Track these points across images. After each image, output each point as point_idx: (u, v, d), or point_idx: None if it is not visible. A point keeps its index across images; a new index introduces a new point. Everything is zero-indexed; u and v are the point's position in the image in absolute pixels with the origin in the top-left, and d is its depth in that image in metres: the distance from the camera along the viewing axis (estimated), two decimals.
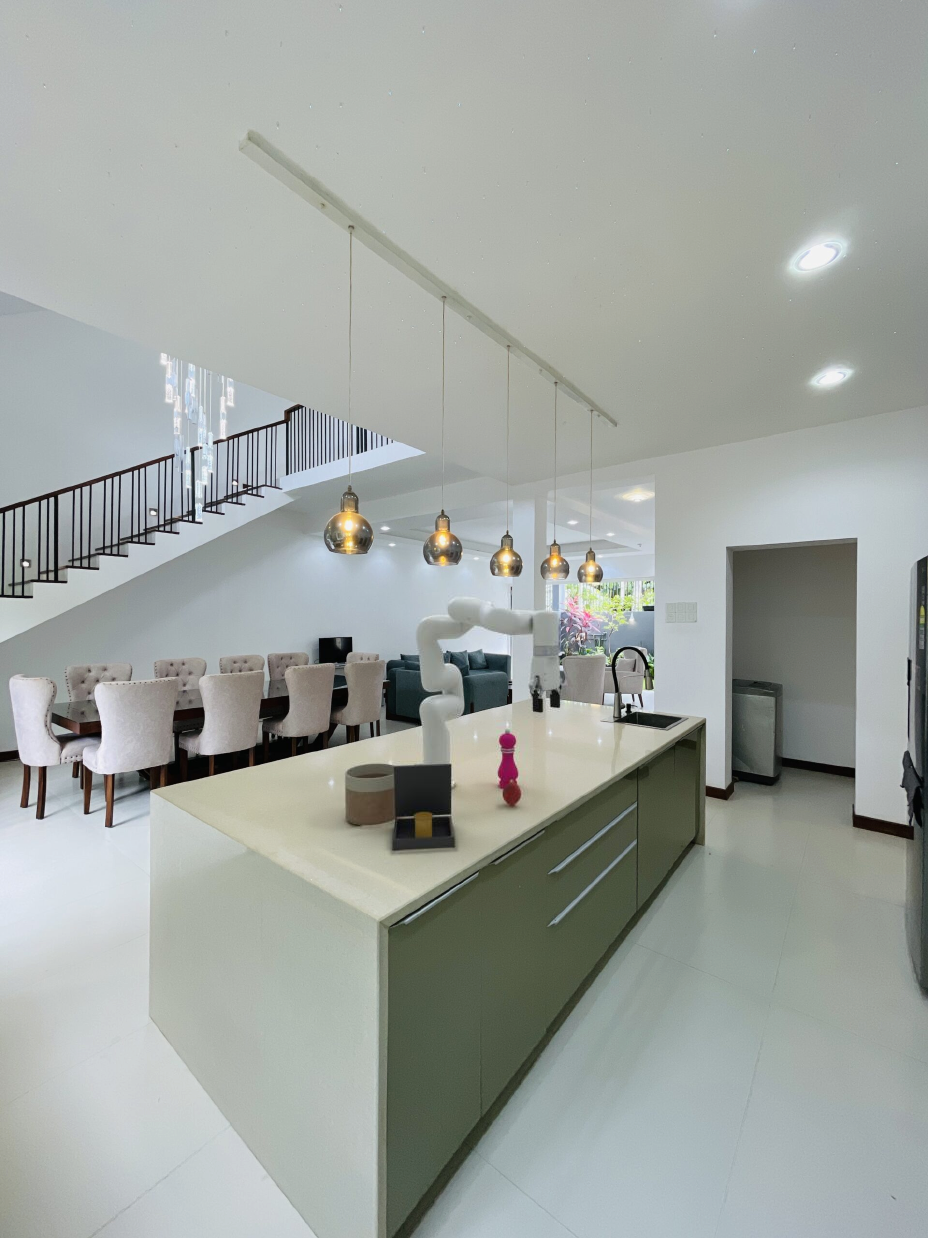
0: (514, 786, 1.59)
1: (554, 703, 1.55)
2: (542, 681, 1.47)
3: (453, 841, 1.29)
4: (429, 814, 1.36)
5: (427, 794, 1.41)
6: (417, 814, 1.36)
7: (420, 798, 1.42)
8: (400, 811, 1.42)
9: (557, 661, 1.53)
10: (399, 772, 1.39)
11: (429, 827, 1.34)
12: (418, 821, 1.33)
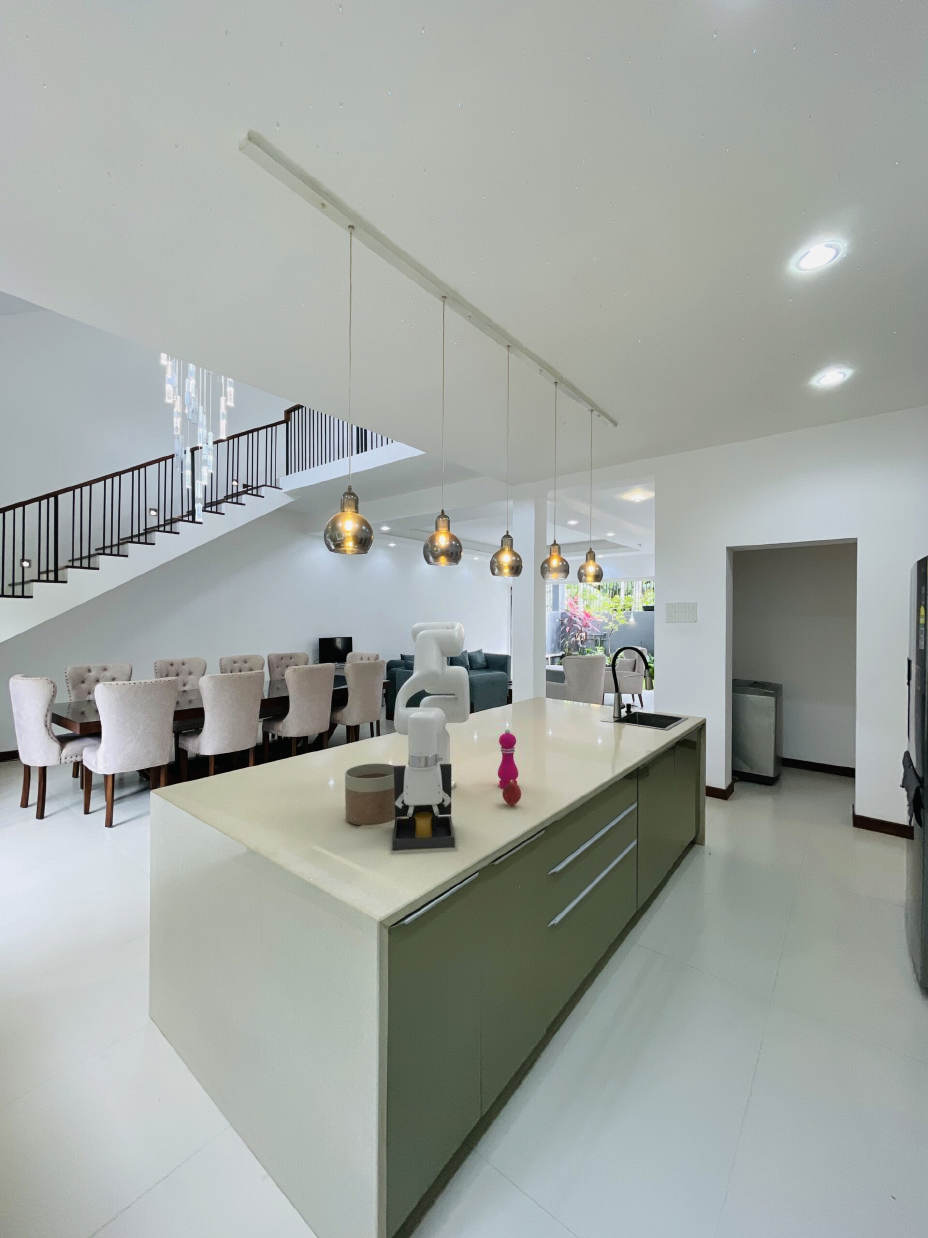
0: (514, 786, 1.59)
1: None
2: (404, 794, 1.33)
3: (453, 841, 1.29)
4: (429, 814, 1.36)
5: None
6: (417, 814, 1.36)
7: None
8: (400, 811, 1.42)
9: (433, 773, 1.33)
10: (399, 772, 1.39)
11: (429, 827, 1.34)
12: (418, 821, 1.33)
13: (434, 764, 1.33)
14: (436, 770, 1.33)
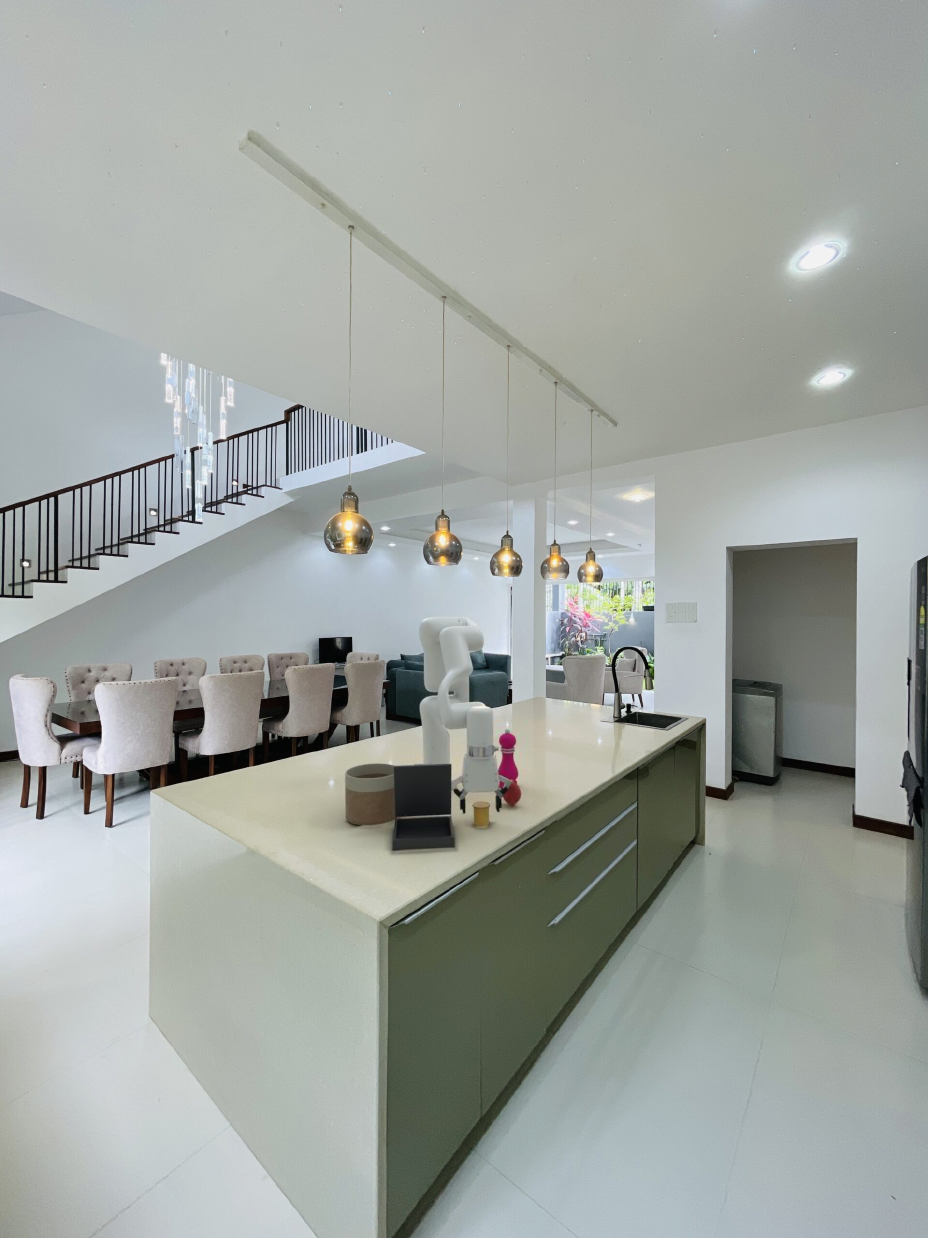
0: (514, 786, 1.59)
1: (496, 806, 1.46)
2: (463, 782, 1.43)
3: (453, 841, 1.29)
4: (486, 803, 1.45)
5: (427, 794, 1.41)
6: (475, 803, 1.46)
7: (420, 798, 1.42)
8: (400, 811, 1.42)
9: (490, 763, 1.43)
10: (399, 772, 1.39)
11: (487, 815, 1.43)
12: (477, 810, 1.43)
13: (491, 754, 1.43)
14: (493, 760, 1.44)
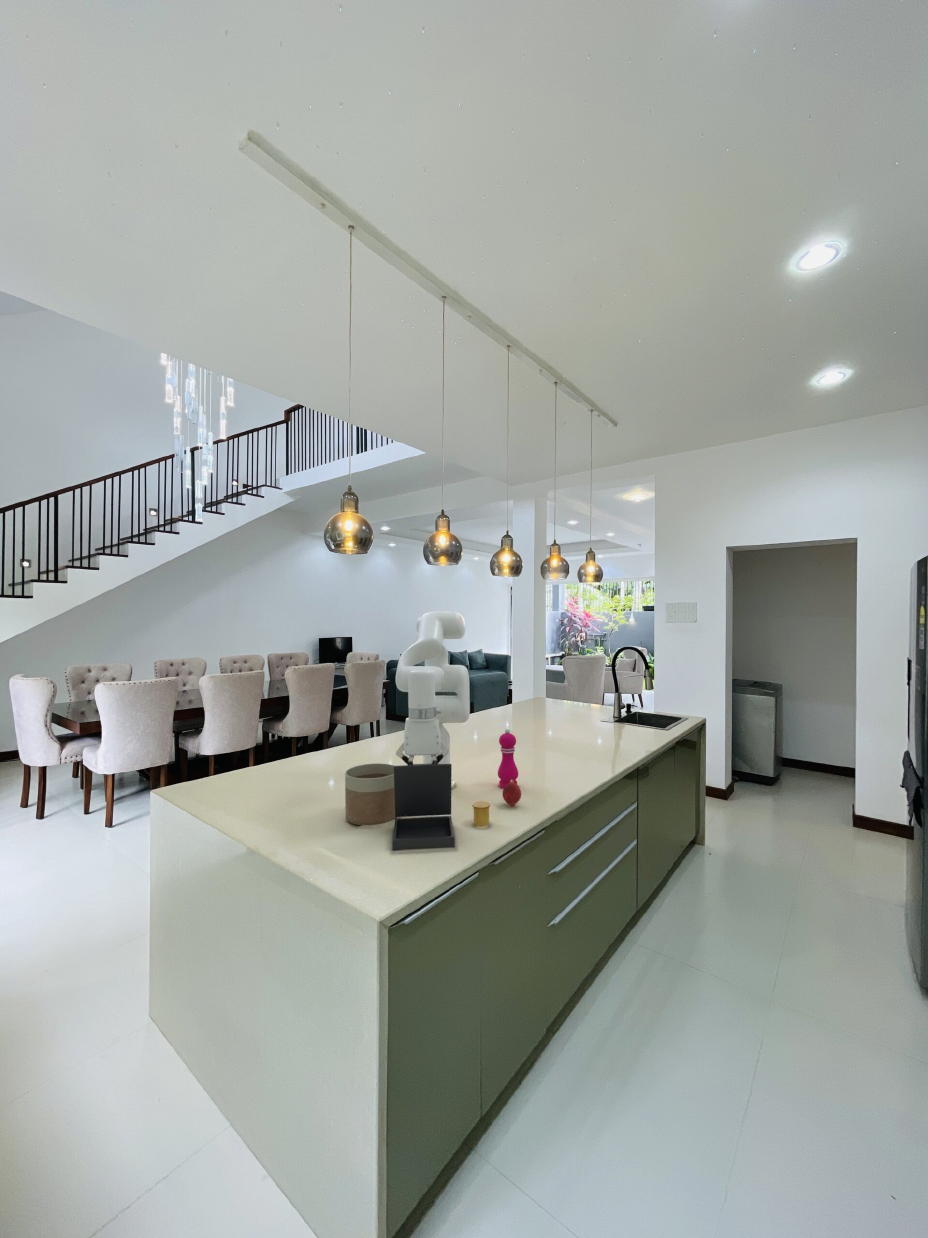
0: (514, 786, 1.59)
1: None
2: (404, 745, 1.41)
3: (453, 841, 1.29)
4: (486, 803, 1.45)
5: (427, 794, 1.41)
6: (475, 803, 1.46)
7: (420, 798, 1.42)
8: (400, 811, 1.42)
9: (432, 725, 1.41)
10: (399, 772, 1.39)
11: (487, 815, 1.43)
12: (477, 810, 1.43)
13: (433, 716, 1.41)
14: (435, 722, 1.41)
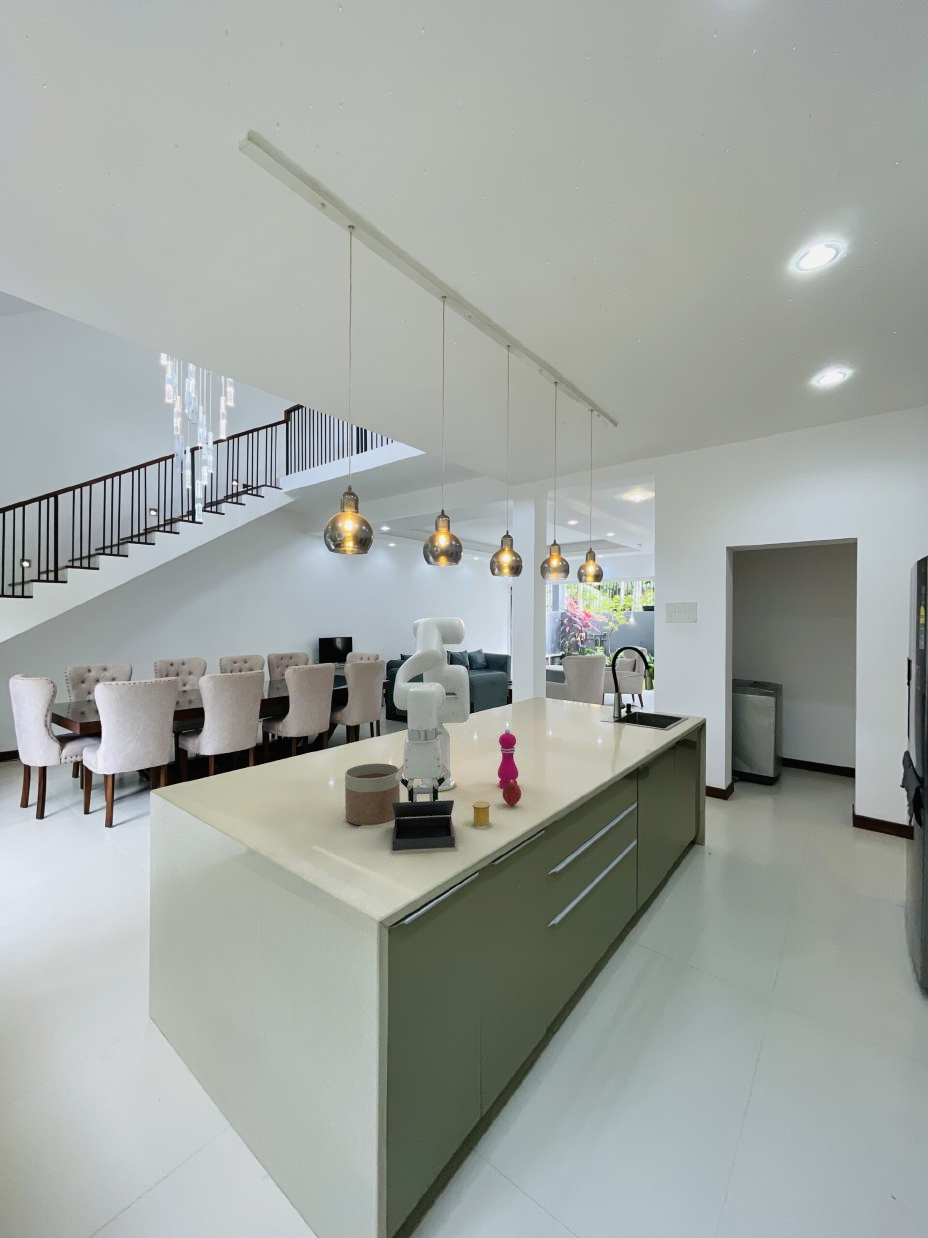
0: (514, 786, 1.59)
1: None
2: (403, 767, 1.33)
3: (453, 841, 1.29)
4: (486, 803, 1.45)
5: (427, 811, 1.37)
6: (475, 803, 1.46)
7: (420, 812, 1.38)
8: (400, 816, 1.41)
9: (432, 747, 1.33)
10: (398, 807, 1.31)
11: (487, 815, 1.43)
12: (477, 810, 1.43)
13: (434, 738, 1.33)
14: (436, 744, 1.33)
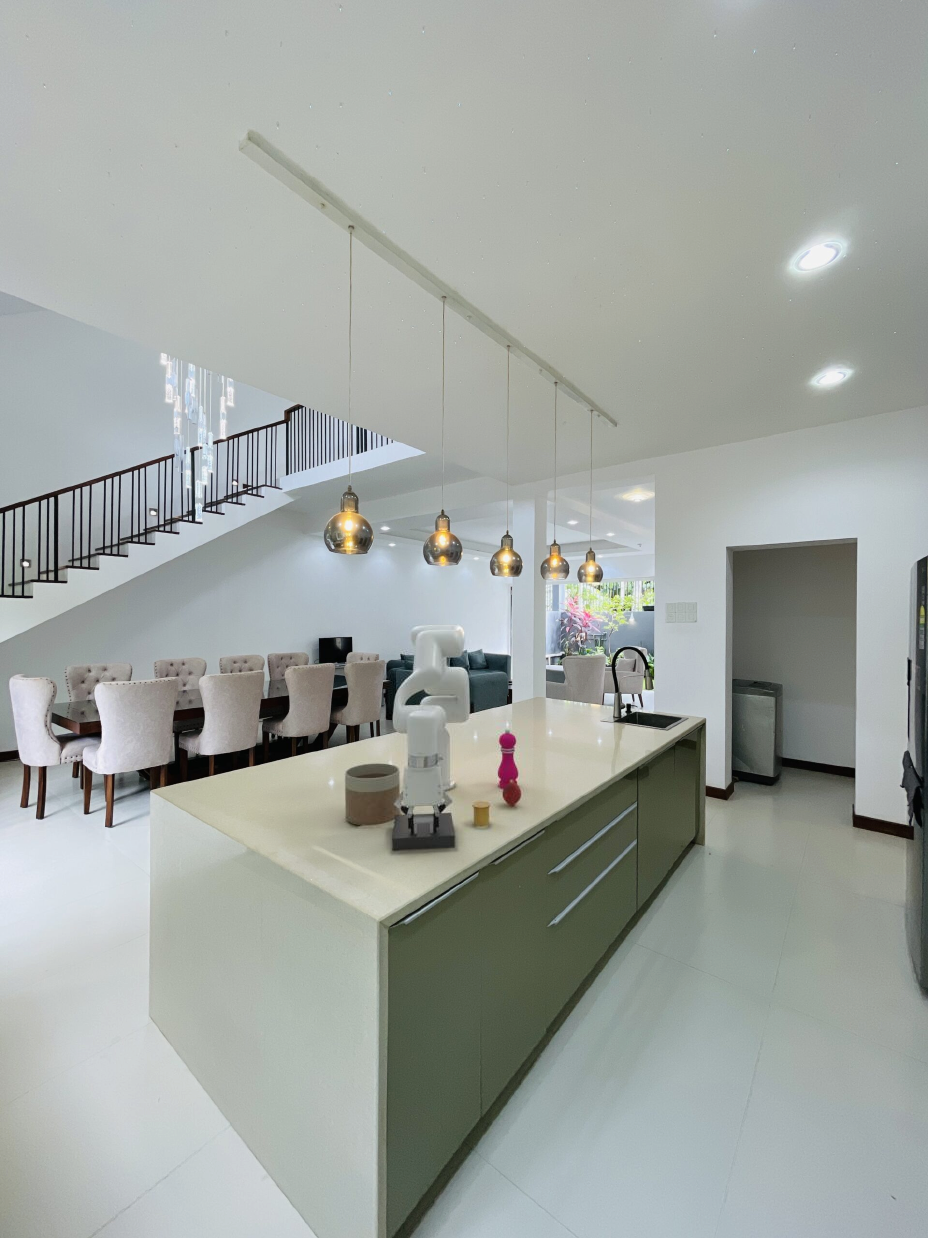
0: (514, 786, 1.59)
1: None
2: (403, 795, 1.30)
3: (453, 841, 1.29)
4: (486, 803, 1.45)
5: None
6: (475, 803, 1.46)
7: None
8: None
9: (433, 774, 1.29)
10: None
11: (487, 815, 1.43)
12: (477, 810, 1.43)
13: (434, 764, 1.30)
14: (436, 770, 1.30)
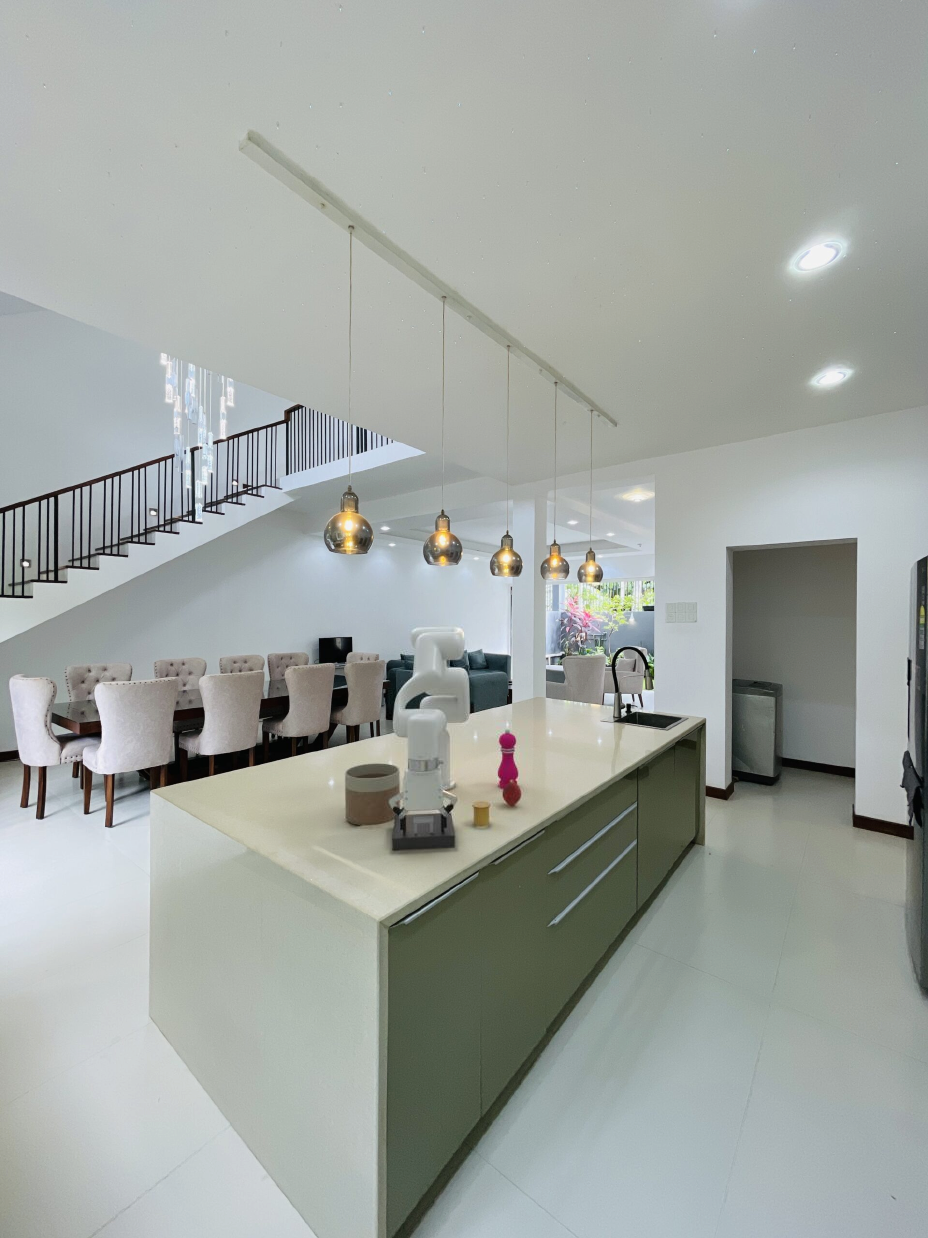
0: (514, 786, 1.59)
1: None
2: (403, 799, 1.28)
3: (453, 841, 1.29)
4: (486, 803, 1.45)
5: None
6: (475, 803, 1.46)
7: None
8: None
9: (433, 777, 1.28)
10: None
11: (487, 815, 1.43)
12: (477, 810, 1.43)
13: (435, 768, 1.29)
14: (437, 774, 1.29)
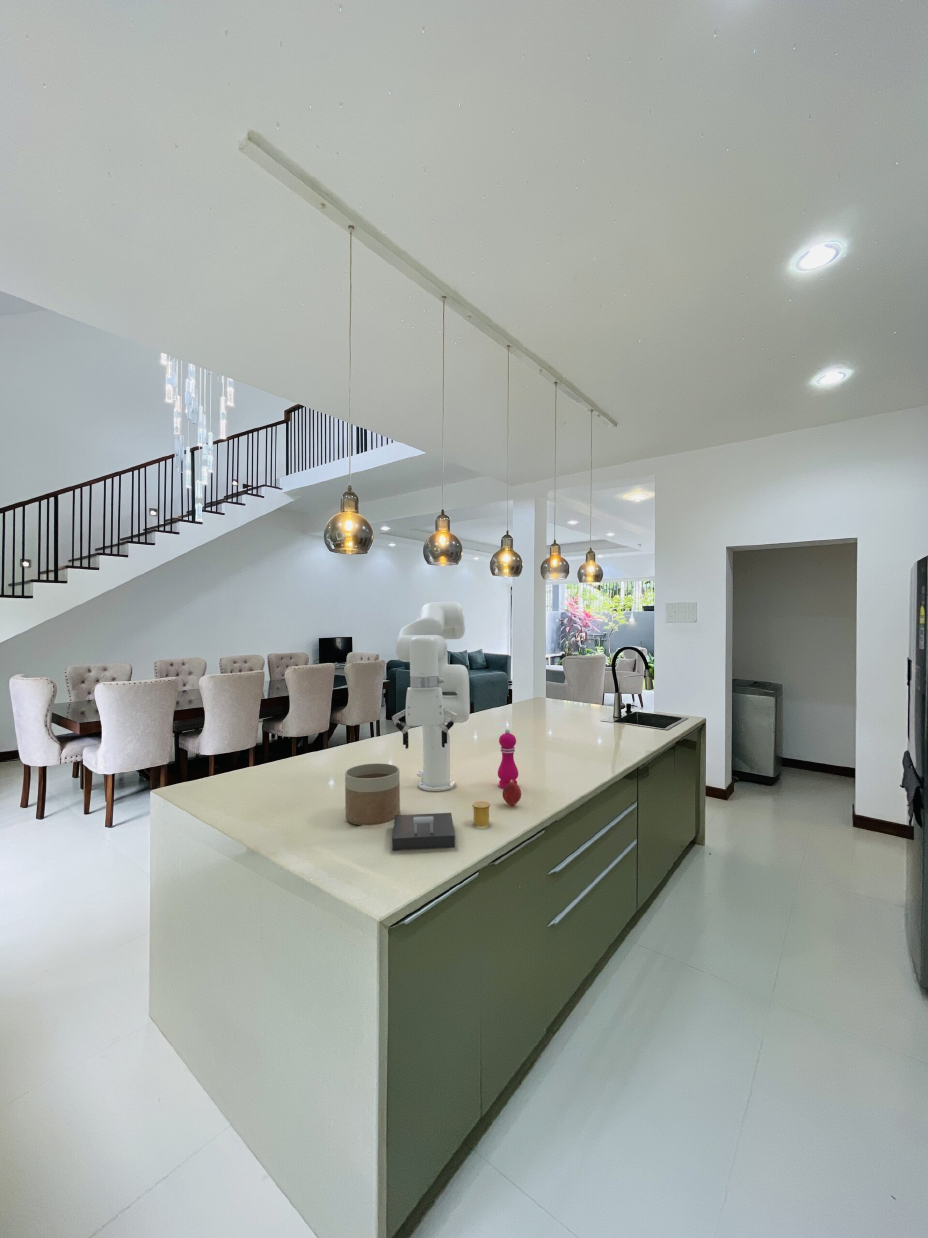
0: (514, 786, 1.59)
1: None
2: (406, 715, 1.35)
3: (453, 841, 1.29)
4: (486, 803, 1.45)
5: None
6: (475, 803, 1.46)
7: None
8: None
9: (434, 694, 1.35)
10: None
11: (487, 815, 1.43)
12: (477, 810, 1.43)
13: (436, 685, 1.35)
14: (438, 691, 1.35)
